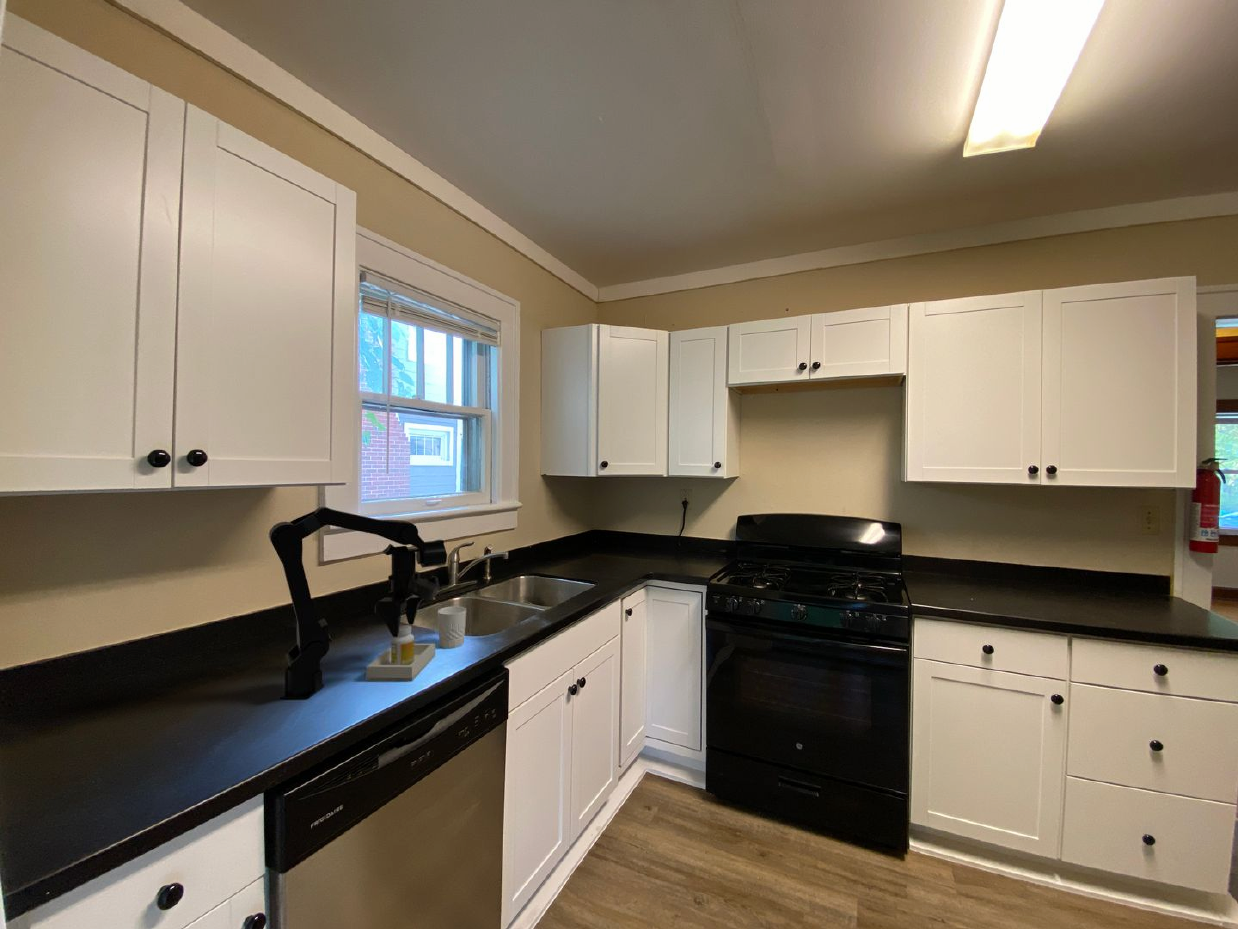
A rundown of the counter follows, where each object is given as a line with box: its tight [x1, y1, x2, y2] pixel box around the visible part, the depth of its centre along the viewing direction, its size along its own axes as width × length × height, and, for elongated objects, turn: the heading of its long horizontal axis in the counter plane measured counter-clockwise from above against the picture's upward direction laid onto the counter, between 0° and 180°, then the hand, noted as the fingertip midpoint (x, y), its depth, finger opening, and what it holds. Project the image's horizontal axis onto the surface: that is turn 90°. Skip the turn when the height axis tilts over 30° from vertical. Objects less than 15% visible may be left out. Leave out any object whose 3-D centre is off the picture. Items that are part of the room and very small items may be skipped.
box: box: [365, 643, 436, 682], centre depth 125 cm, size 11×15×4 cm
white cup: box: [437, 605, 467, 649], centre depth 142 cm, size 8×8×10 cm
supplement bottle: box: [390, 624, 415, 665], centre depth 125 cm, size 5×5×10 cm
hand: (403, 630), depth 125 cm, fingers open, 9 cm apart
